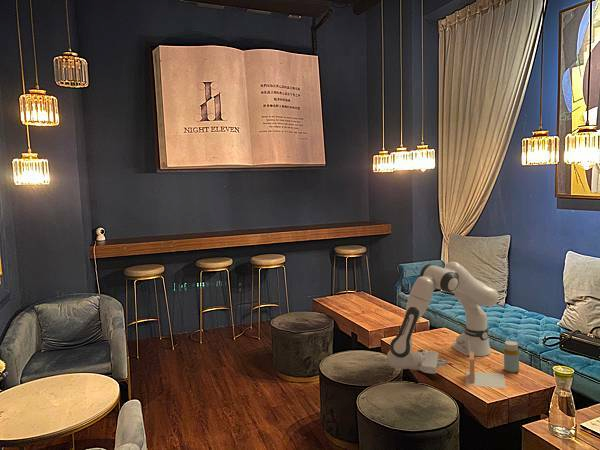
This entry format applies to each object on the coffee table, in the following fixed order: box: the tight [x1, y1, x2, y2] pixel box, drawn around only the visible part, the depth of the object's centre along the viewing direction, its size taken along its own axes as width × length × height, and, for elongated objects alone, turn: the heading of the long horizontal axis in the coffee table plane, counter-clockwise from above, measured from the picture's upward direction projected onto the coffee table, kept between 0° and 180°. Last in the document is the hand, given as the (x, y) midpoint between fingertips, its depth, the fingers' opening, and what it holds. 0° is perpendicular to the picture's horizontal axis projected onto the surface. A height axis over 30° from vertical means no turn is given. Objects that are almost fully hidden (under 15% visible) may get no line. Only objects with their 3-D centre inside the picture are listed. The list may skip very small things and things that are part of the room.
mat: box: [465, 370, 507, 389], centre depth 239 cm, size 18×16×1 cm
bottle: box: [503, 340, 520, 374], centre depth 246 cm, size 7×7×15 cm
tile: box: [469, 352, 476, 383], centre depth 240 cm, size 2×10×12 cm, turn 160°
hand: (446, 363), depth 244 cm, fingers closed
